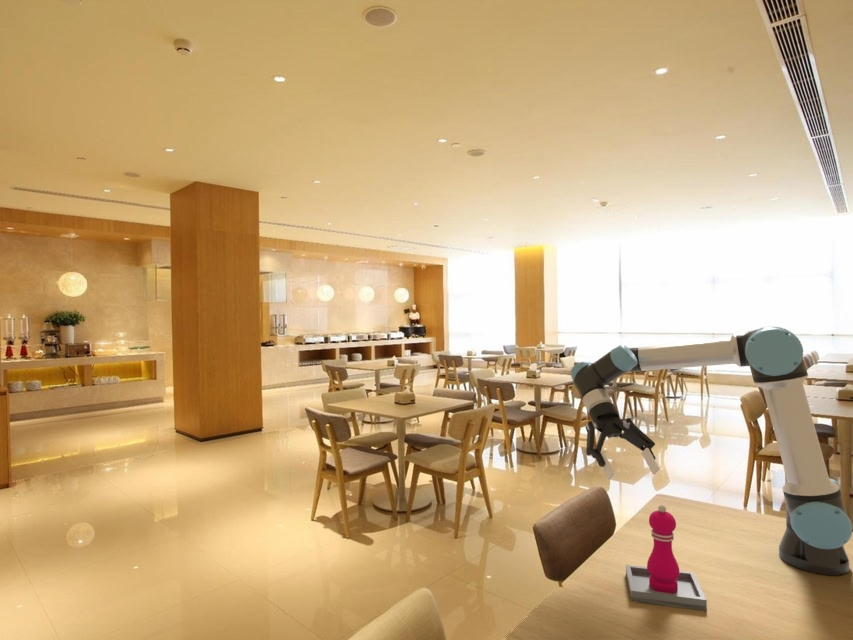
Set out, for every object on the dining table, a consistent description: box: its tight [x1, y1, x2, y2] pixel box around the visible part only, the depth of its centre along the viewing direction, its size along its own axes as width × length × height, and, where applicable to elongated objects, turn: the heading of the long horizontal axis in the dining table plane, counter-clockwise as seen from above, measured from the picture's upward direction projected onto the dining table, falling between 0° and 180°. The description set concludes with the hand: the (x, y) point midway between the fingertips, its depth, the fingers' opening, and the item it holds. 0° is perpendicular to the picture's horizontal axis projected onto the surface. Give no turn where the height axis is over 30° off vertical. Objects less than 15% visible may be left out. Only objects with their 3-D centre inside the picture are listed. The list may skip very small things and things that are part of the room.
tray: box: [625, 564, 708, 612], centre depth 124 cm, size 16×13×2 cm
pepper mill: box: [646, 504, 680, 593], centre depth 124 cm, size 7×7×20 cm
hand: (634, 474), depth 134 cm, fingers open, 13 cm apart
